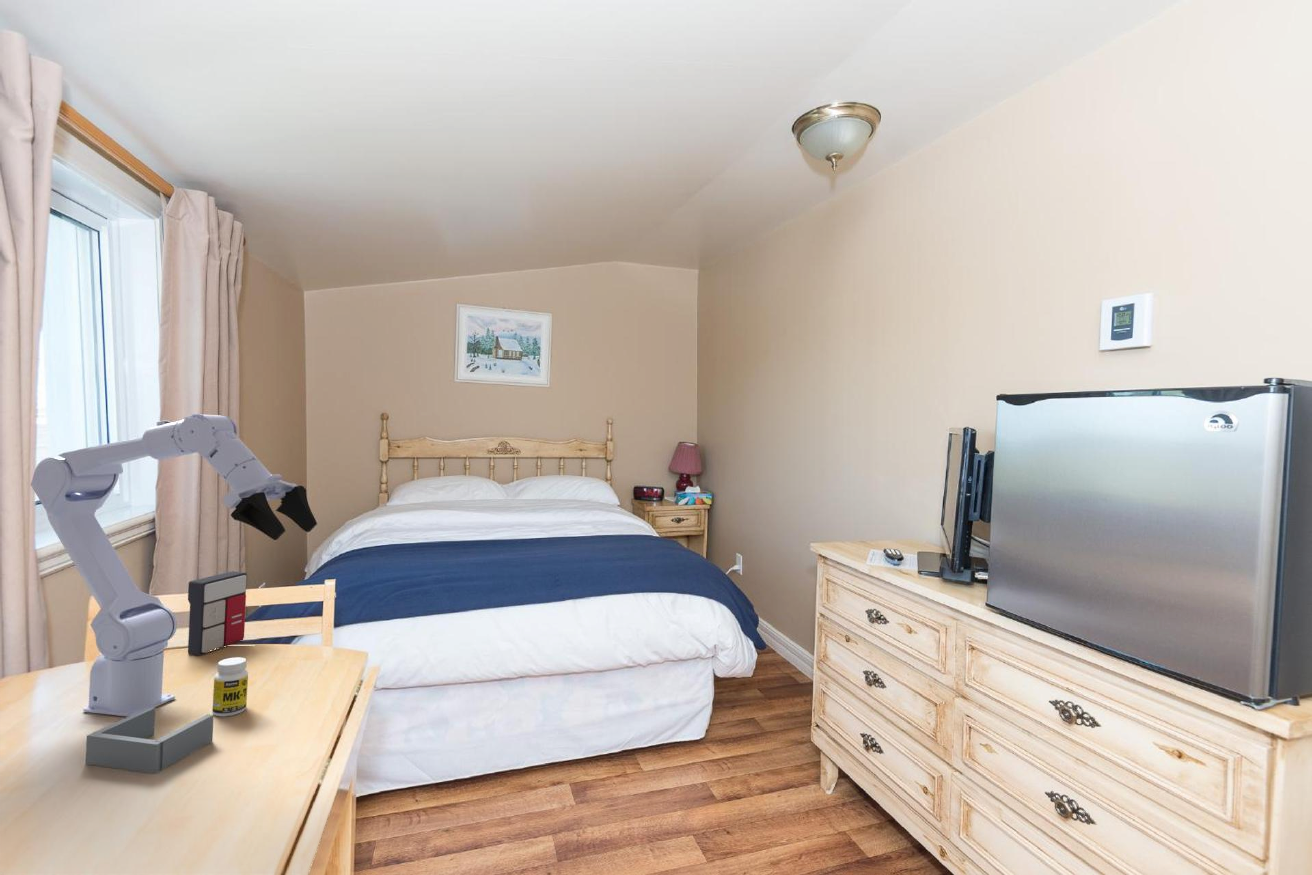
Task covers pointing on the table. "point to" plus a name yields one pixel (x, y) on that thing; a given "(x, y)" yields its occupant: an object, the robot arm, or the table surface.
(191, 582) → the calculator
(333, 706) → the table surface
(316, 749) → the table surface
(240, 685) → the supplement bottle
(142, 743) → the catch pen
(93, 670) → the robot arm
